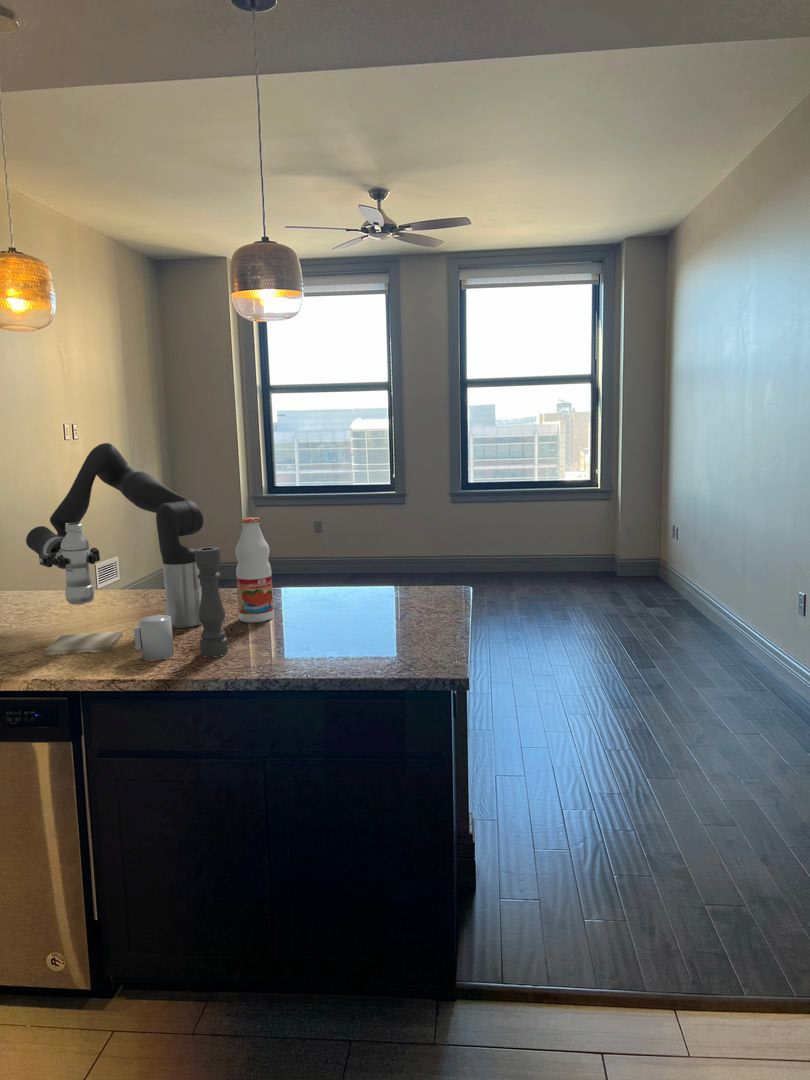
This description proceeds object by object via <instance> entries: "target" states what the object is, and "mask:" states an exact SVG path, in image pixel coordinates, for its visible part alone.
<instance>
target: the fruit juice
mask: <svg viewBox="0 0 810 1080" xmlns="http://www.w3.org/2000/svg"><path fill="white" fill-rule="evenodd" d="M260 523H261V518H260V517H257V516H251V517H243V518H241V525H242V529H241V530H242V531H241V534H240V537H239V540H238V542H237V544H236V546H235V555H236V560H237V565H236V573H235V574H236V590H237V603H238V605H237V606H238V617H239V620H240V621H241V622H243V623H248V624H249V623H251V624H252V623H254V622H255V623H262V622H267V620H268V621H270V620H272V619H273V618H274V613H275V612H274V597H273V580H272V567H271V563H270V561H269V556H270V545H269V544H268V542H267V540H266V539H265V537H264V534H263V532H262V530H261V527H260Z"/></svg>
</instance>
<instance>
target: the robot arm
mask: <svg viewBox="0 0 810 1080" xmlns="http://www.w3.org/2000/svg"><path fill="white" fill-rule="evenodd" d="M96 477H98V478H99V479H100V480H101V481H102V482H103V483H105V484H106V485H108V486H110V487H112V488H114V489H115V490H117V491H119V492H121V494H122V495H123V497H125V498H126V499H127V500H128V501H129V502H130V503H132V504H133V505H134V506H136V507H138V508H139V509H141V510H144V511H146V512H149V513H150V512H151V513H154V514H155V523H156V530H157V537H158V538H157V539H158V545H159V546H158V547H159V552H160V556H161V560H162V569H163V585H164V595H165V596H164V598H165V606H166V607H165V608H166V609H165V610H166V615H167V616H170V617H171V623H172V629H173V628H175V629H178V628H180V629H182V628H183V629H185V628H190V627H195V626H203V624H202V623H201V622H200V620H199V616H198V614H199V608H200V602H201V595H202V588H201V581H200V579H198V575H199V574H200V571H199V569H198V568H197V564H196V562H195V548H192V547H187V546H184V545H182V544H181V542H180V537H184V536H185V537H186V536H192V535H194V534H197V533H199V532H200V531H201V529H202V528H203V526H204V515H203V512H202V511H201V509H200V507H199V506H198V505H197V504H196V502H194V501H192V500H190V499H188V498H186V497H185V496H182V495H180V494H178V493H176V492H174V490H171V489H170V488H168V486H165V485H164V484H162V483H161V482H160V481H158V480H157V479H156V478H154V476H152V475H150V474H149V473H146V472H145V471H135V470H134V469H132V467H131V466H130V465H129V464H128V461H127V460H126V459H125V458H124V456H122V454H121V452H120V451H119V450H118V449H117V448H116V447H115V445H113V443H110V442H104V443H101V444H98V445H97V446H95V447H94V448H93V449H92V450H91V451H90V452H89V453H88V454H87V456H86V458H85V460H84V461H83V464H82V465H81V467H80V469H79V472H78V473H77V476H76V477H75V478H74V482H73V483H72V485H71V488H70V489H69V491H68V493H67V494H66V496H65V497H64V498H63V500H62V501H61V503H60V504H59V505H58V506H57V508H56V509H55V510H54V511H53V512H52V514H51V516H50V518H49V522H50V523H49V524H51V526H52V527H53V528H54V530H55V531H56V533H57V534H56V533H55V532H53V531H52V530H51V529H49V528H48V527H47V526H44V525H42V526H41V525H40V526H36V527H34V528H32V529H30V531H29V532H28V534H27V535H26V539H25V542H26V543H25V544H26V547H28V548H29V549H30V550H32V551H33V552H35V553H36V554H37V555H38V561H39V565H40V566H44V567H46V568H52V567H53V566H54V567H57V568H58V569H61V570H65V569H66V561H65V558H63V555H62V550H61V542H62V540H63V539H64V537H65V536H66V534H67V532H65V530H66V528H65V524H68V523H81V521H82V520H83V519H84V517H85V515H86V513H87V512H88V508H89V506H90V502H91V501H90V500H91V494H92V490H93V484H94V482H95V479H96ZM89 549H90V550H89V565H90V564H91V565H95V564H96V563H97V562H99V561H101V558H100V557H101V556H100V550H99V548H97V547H91V548H89Z"/></svg>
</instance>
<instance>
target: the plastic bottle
mask: <svg viewBox="0 0 810 1080" xmlns="http://www.w3.org/2000/svg"><path fill="white" fill-rule="evenodd" d="M65 528H66V530H65V532H67V534H66V536H65V537H64V539H63V540H62V542H61V550H62V555H63V558H65V561H66V569H64V570H65V585H66V586H65V589H64V590H65V591H64V596H65V600H66V601H67V603H68V604H70V605H76V606H77V605H78V606H80V605H85V604H90V603H92V602H93V600H94V599H95V589H94V586H93V584H92V583H93V582H92V578H91V573H90V563H89V551H90V549H91V548H90V547H91V545H90V542H89V540H88V539H87V538H86V536H85V535H84V534H83V533H82V532H83V531H84V529H83V523H82V522H79V523H68V524H65Z"/></svg>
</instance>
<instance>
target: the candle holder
mask: <svg viewBox="0 0 810 1080" xmlns="http://www.w3.org/2000/svg"><path fill="white" fill-rule="evenodd" d="M194 549H195V548H194ZM220 549H221V548H220V547H217V546H207V547H205V546H204V547H198V548H196V549H195V562H196V564H197V568H198V569H199V575H198V579H200V586H201V588H202V595H201V602H200V608H199V614H198V616H199V620H200V622H201V623H202V628H204V629H203V630H202V631H201V634H200V638H201V639H200V641H199V645H200V655H202V656H201V657H203V656H206V657H205V658H207V657H214V656H220V657H222V656H221V655H224V654H226V653H227V652H228V653H229V649H228V638H227V637H226V631H225V630H224V629H223V627H222V626H223V622H224V621H225V619H226V611H225V608H224V605H223V601H222V599H221V596H220V592H219V578H221V573H220V572H219V571H218V570H219V567H220V566H221V564H220V563H221V550H220ZM228 653H227V654H228ZM227 654H226V655H227ZM224 656H225V655H224ZM214 658H215V657H214Z"/></svg>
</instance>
